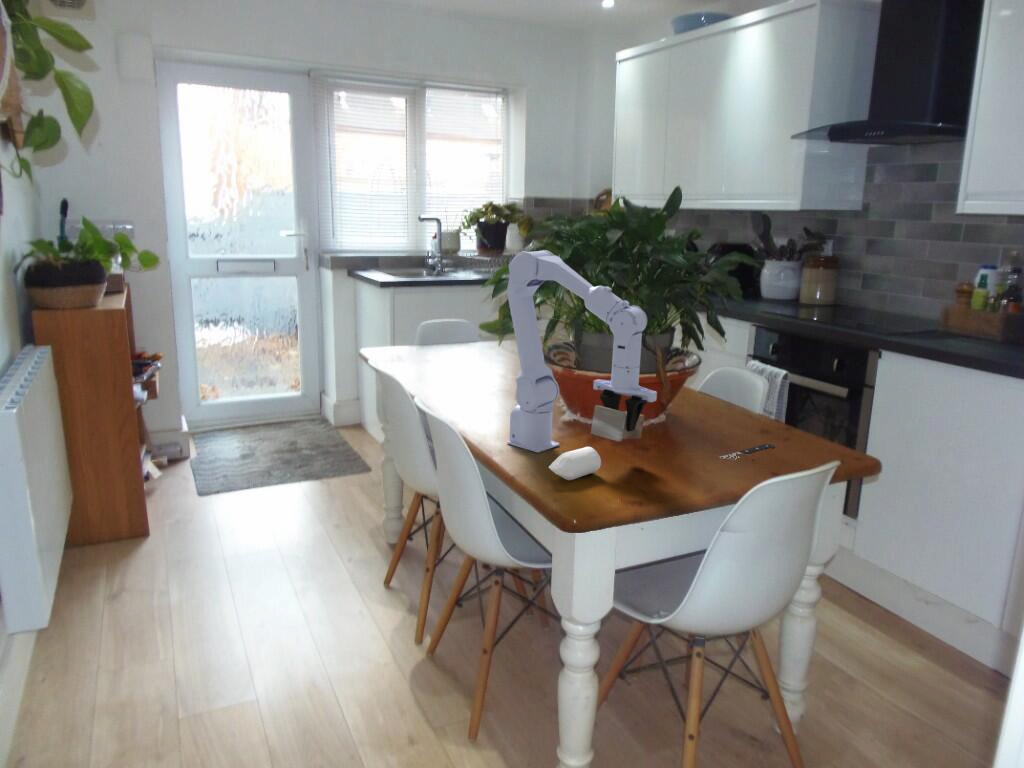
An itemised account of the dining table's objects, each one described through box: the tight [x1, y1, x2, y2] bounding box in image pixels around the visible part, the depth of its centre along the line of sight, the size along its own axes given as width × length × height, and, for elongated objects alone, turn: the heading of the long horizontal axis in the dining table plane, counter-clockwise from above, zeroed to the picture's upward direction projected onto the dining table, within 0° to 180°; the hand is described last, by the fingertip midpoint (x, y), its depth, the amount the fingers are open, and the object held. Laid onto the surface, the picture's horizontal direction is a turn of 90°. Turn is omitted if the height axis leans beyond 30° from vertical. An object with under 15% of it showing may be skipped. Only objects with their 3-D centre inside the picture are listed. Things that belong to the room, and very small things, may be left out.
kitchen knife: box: [719, 443, 775, 460], centre depth 166 cm, size 29×1×10 cm
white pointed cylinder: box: [548, 446, 602, 481], centre depth 152 cm, size 6×12×6 cm, turn 132°
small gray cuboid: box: [590, 404, 645, 442], centre depth 158 cm, size 11×7×6 cm, turn 138°
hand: (621, 428), depth 158 cm, fingers closed on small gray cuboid, 4 cm apart
